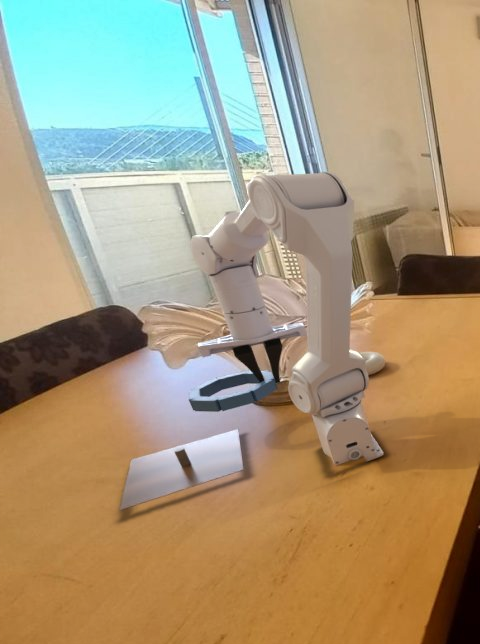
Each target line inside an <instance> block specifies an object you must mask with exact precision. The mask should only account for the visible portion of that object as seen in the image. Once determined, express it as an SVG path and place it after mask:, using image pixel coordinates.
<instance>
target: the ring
mask: <svg viewBox="0 0 480 644" xmlns="http://www.w3.org/2000/svg"><path fill="white" fill-rule="evenodd" d="M261 372H262V374H263V377H264V381H263V382H261V383H260V382H259V381H258V379H257V378H256V376H255V375H254V374H253V373H252V372H251V371H250V370H247V371H246V370H243V371H239V372H234V373H230V374H226V375H221V376H218V377H215V378H212V379H209V380H207V381H205V382H203V383H201V384H199V385H197V386H195V387H193V388H191V389H190V390H189V391H188V402H189V404H190V407H191V408H192V411H194V412H209V413H210V412H211V413H212V412H213V413H215V412H216V413H219V412H225V411H229V410H232V409H236V408H240V407H244V406H248V405H251V404H254V403H255V402H259V401H260V400H262V399H264V398H266V397H267V396H269V395H270V394H272V393H274V392H276V391H277V389H278V385H277V383H276V382H275V379H274V376H273V374H272V370H261ZM251 384H253V385H254V384H255V385H254V386H252V387H250V388H249V389H246V390H241V391H238V392H234V393H230V394H226V395H222V396H213V395H216V394H217V393H219V392H222V391H224V390H227V389H231V388H236V387H240V386H244V385H251Z"/></svg>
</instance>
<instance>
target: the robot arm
mask: <svg viewBox="0 0 480 644" xmlns="http://www.w3.org/2000/svg"><path fill="white" fill-rule="evenodd" d="M246 193H247V197H248V201H247V202H246V204H245V206H244V207H243V209H242V211H238V210H229V211H225V212H224V213H223V215H222V217H223V219H222V220H221V221H220V222H219V223H218V224H217V225H215V226H214V227H213V230H212V231H211V232H209V234H208V235H199V234H197V235H193V236H192V237H191V240H190V243H189V247H190V252H191V255H192V258H193V260H194V262H195V264H196V265H197V267H198V268H199V269H200V270H201V271H202V272H203V273H204V274H206V275H208V278H209V280H210V282H211V286H212V288H213V290H214V291H213V292H214V294H215V296H216V299H217V302H218V304H219V306H220V309H221V312H222V314H223V317H224V320H225V323H226V325H227V328H228V331H229V333H230V334H229V335H225V336H222V337H218V338H214V339H211V340H206V341H201V342H198V343H197V348H198V350H199V352H200V355H201V357H202V358H208V357H211V356H212V355H216V354H220V353H225V352H229V351H232V352H233V354H234V357H235V358H236V359H237V360H238V361H239V362H241V363H242V365H244V366H245V368H247V369H248V371H251V372H252V373H253V374H254V375H255V376H256V378H257V379H258V381H259V382H260V383H261V382H263V381H264V377H263V374H262V372H261V371H262V370H261V368H260V366H259V364H258V361H257V358H256V356H255V352H254V350H253V346H258V345H263V348H264V350H265V353H266V356H267V359H268V361H269V365H270V369H271V370H270V371H272V374H273V376H274V379H275V382H276V384H280V383H281V378H280V363H281V362H280V361H281V355H282V351H283V343H282V341H281V340H287V339H291V338H296V337H302V338H303V337H307V351H306V353H305V354H304V355H303V356H302V357H301V358H300V359H298V360H297V362H296V363H295V364H294V365H293V366H292V368H291V378H290V379H289V381H288V385H287V390H288V391H287V392H288V395H289V398H290V399H291V401H292V403H293V404H294V406H295V407H296V408H297V409H298V410H299V411H300V412H302V413H305V414H306V415H309V416H311V417H312V420H313V424H314V427H315V430H316V433H317V436H318V439H319V443H320V445H321V449H322V451H323V453H324V455H326V456H327V457H329V458H330V459H331V461H332V463H333V465H334V466H335V467H336V466H339V465H342V464H344V463H345V464H346V463H348V462H350V461H356V460H359V459H360V458H362V457H363V458H364V460H365V461H366V462H370V461H372V460H376V459H378V458H381V457H383V456H384V455H385V454H384V451H383V449H382V448H381V446H379V443H378V442H377V440H376V439H375V437H374V436H373V434H372V433H371V430H370V429H371V428H370V425H369V422H368V418H367V415H366V411H365V407H364V404H363V400H362V399H364V398H366V394H365V391H366V390H367V389H368V388H369V386H370V385H369V384H370V379H369V376H368V373H367V371H366V367H365V362H366V361H365V359H364V358H363V357H362V356H361V355H360V354H359V353H360V352H358V351H356V350H355V349H353V348H351V347H350V346H351V320H352V319H351V317H352V316H351V313H352V283H353V281H352V280H353V247H352V241H353V239H354V224H355V222H354V220H355V217H354V216H355V200H354V198H353V197H352V195H351V193H350V192H349V190H348V188H347V186H346V185H345V183H344V182H343V181H342V179H341V178H340V177H339V176H338V175H337V174H336V173H334V172H331V171H321V172H318V173H317V172H316V173H296V174H295V173H294V174H270V175H267V174H266V173H265V174H264V173H263V174H262V173H261V174H260V173H259V174H255V175H253V176H252V178H251V179H250V182H247V184H246ZM270 232H271V233H272V234H273V235H274V237H275V238H276V239H277V240H278V241H279V242H280V243H281V244H282V246H283V247H284V248H285V249H286V250H287V251H289V252H293V253H296V254H300V255H303V258H304V261H305V263H304V264H305V267H304V268H305V296H306V297H305V298H306V301H305V303H306V327H305V325H304V323H303V322H299V323H292V324H285V325H284V324H283V325H277V326H273V324H272V320H271V317H270V315H269V312H268V309H267V306H266V303H265V299H264V297H263V294H262V292H261V288H260V286H259V283H258V280H257V279H258V278H259V277H260V273H259V270H258V253H259V252H260V251H261V250H262V249H263V248H264V247H265V246H266V245H267V244H268V243H269V241H270V237H271V236H270V235H271V234H270Z"/></svg>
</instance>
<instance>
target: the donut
mask: <svg viewBox="0 0 480 644" xmlns="http://www.w3.org/2000/svg"><path fill="white" fill-rule="evenodd" d="M358 353H359V354H360V355H361V356H362V357H363V358H364V359H365V361H366V362H365V367H366V371H367V373H368V377H369V376H372V375H375V374H377V373H378V372H380V371H381V370H382V369H384V367H385V365H386V364H387V363H386V358H385V356H384V355H383V354H382V353H380V352H376V351H362V352H358Z"/></svg>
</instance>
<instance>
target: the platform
mask: <svg viewBox="0 0 480 644" xmlns="http://www.w3.org/2000/svg"><path fill="white" fill-rule="evenodd" d="M244 470H245V468H244V461H243V454H242V447H241V439H240V432H239V429H238V428H237V429H233V430H230V431H227V432H222V433H219V434H216V435H212V436H209V437H205V438H202V439H198V440H195V441H192V442H188V443H185V444H181V445H177V446H174V447H169V448H166V449H164V450H163V449H162V450H159V451H157V452H153V453H149V454H145V455H142V456H139V457H136V458H132V459H130V463H129V466H128V471H127V474H126V479H125V483H124V488H123V490H122V491H123V492H122V496H121V500H120V504H119V508H118V511H123V510H126V509H129V508H133V507H134V506H135V507H136V506H138V505H141V504H144V503H148V502H150V501H153V500H156V499H159V498H162V497H166V496H168V495H171V494H175V493H178V492H181V491H184V490H187V489H190V488H193V487H196V486H200V485H202V484H205V483H208V482H210V481H215V480H217V479H220V478H224V477H227V476H229V475H232V474H235V473H239V472H242V471H244Z"/></svg>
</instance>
